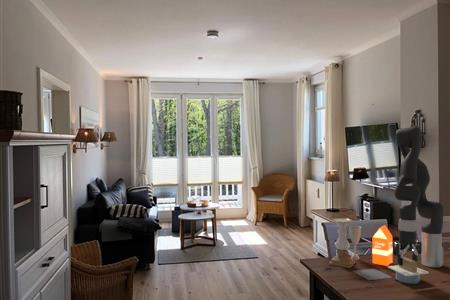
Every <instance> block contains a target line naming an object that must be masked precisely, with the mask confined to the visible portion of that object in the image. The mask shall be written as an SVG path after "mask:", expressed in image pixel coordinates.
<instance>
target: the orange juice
mask: <svg viewBox="0 0 450 300" xmlns="http://www.w3.org/2000/svg"><path fill="white" fill-rule="evenodd" d="M371 240H372V241H371V242H372V249H371V250H372V251H371V252H372V253H371V254H372V264H375V265H380V266H385V267H388V266H390V264H393V262H394V261H393V259H394V258H393V235H392V233H391V232H390V230H389V229H388V228H387V226H386V224H384V225H382V226H381V227H379V228H378V230H377V231H376V232H375V233H374V235H373V236H372V239H371Z"/></svg>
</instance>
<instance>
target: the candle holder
mask: <svg viewBox="0 0 450 300" xmlns="http://www.w3.org/2000/svg"><path fill="white" fill-rule="evenodd" d="M331 222H333V223H336V225H337V226H338V230H337V234H338V238H337V239H336V241H335V243H334V245H335V247H336V249H337V250H336V251H335V252H336V255H334V256H333V257H332V258H331V260H330V261H329V266H336V267H341V268H346V269H352V268H353V266H354V265H355V264H356V261H357V260H354V258H352V256H349V250H348V249H350V248H351V245H350V243H349V241H348V239H347V234H348V231H347V226H349V224H352V223H353V219H351V218H347V217H346V218H345V217H337V218H336V217H334V218H332V220H331Z"/></svg>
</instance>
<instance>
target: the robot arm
mask: <svg viewBox="0 0 450 300" xmlns="http://www.w3.org/2000/svg"><path fill="white" fill-rule="evenodd" d="M422 133H423V131H422V130H421V128H420V127H419V126H415V125H414V126H409V127H404V128H399V129H397V130H396V131H395V139H396V141H397V145H398V147H399V150H400V153H401V155H402V157H403V160H402V162H401V164H400V168H399V179H398V182H397V184H396V187H395V190H394V197H395V199H396V200H397V201H404V202H411V203H410V204H406V205H401V206H399V209H398V239H399V241H398V242H395V241H394V242H392V247H393V252H392V256H395V257H397V265H400V266H403V258H402V257H404V255H405V254H407V252H411V254H412V255H411V260H414V261H416V262H417V263H418V259H419V257H418V256H419V255H421V265H423V266H426V267H428V268H429V267H430V268H441V267H442V266H444V247H443V246H442V244H443V241H442V240H443V239H442V237H443V236H442V233H443V232H442V231H443V227H444V207H443V204H442V203H441V202H438V201H433V200H432V201H431V200H428V199H427V195H426V191H427V188H428V186H429V184H430V181H431V177H430V173H429V169H428V167H427V164H425V163H424V162H423V161H422V160H421V159H420V158H419V157H420V153H421V147H422V144H423V134H422ZM410 146H411V148H410ZM410 184H411V185H410ZM417 212H418V215H419V216H420V217H421V218H422V219H423V218H424V219H427V220H430V223H429V224H428V223H427V224H423V225H421V236H420V237H421V238H420V239H421V241H420V240H418V238H417V236H418V234H417V230H418V228H417V227H418V226H417V224H418V223H417Z"/></svg>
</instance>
